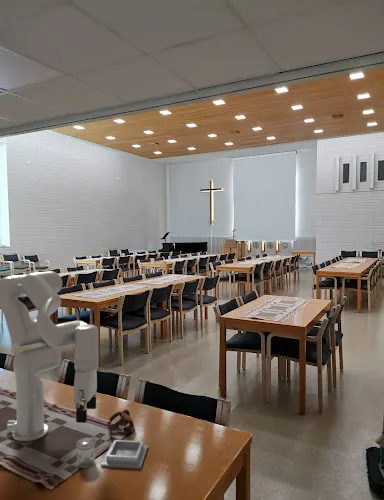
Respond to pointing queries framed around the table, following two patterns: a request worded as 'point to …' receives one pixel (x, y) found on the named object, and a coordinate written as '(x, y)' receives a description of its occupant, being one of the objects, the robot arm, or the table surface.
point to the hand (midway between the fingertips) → (86, 415)
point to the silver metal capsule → (85, 452)
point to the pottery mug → (121, 421)
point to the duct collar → (125, 454)
